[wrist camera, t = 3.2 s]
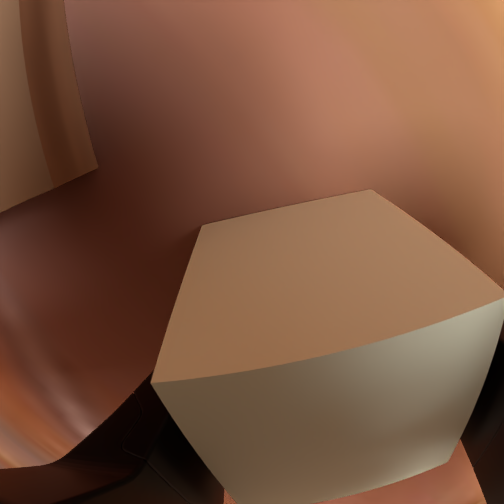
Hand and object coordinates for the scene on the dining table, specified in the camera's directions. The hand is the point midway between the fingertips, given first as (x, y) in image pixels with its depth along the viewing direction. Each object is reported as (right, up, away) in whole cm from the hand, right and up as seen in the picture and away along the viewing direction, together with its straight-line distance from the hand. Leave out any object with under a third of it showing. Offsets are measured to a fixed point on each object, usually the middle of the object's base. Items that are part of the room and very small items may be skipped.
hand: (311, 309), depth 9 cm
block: (0, +1, +1) cm, 2 cm away
